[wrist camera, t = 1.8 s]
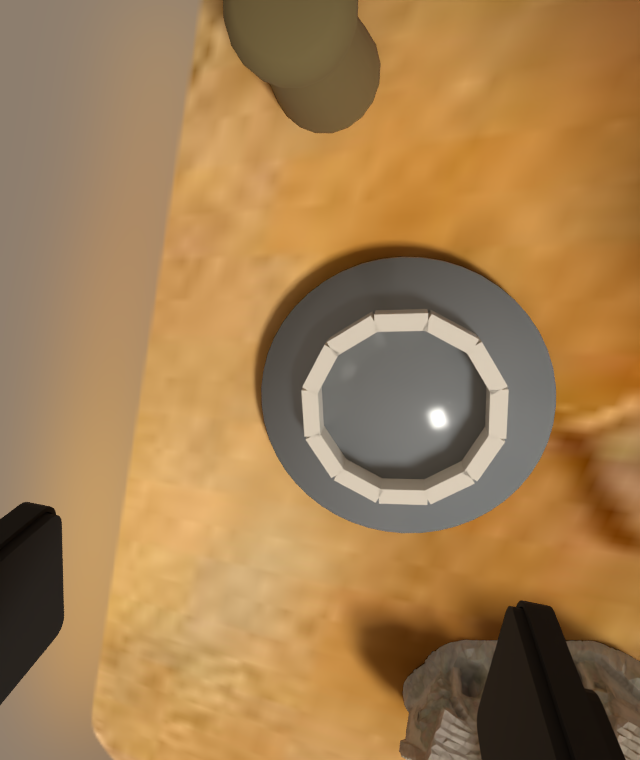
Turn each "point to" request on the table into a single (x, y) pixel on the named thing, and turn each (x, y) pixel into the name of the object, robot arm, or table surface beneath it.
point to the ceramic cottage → (466, 684)
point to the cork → (308, 57)
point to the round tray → (408, 395)
